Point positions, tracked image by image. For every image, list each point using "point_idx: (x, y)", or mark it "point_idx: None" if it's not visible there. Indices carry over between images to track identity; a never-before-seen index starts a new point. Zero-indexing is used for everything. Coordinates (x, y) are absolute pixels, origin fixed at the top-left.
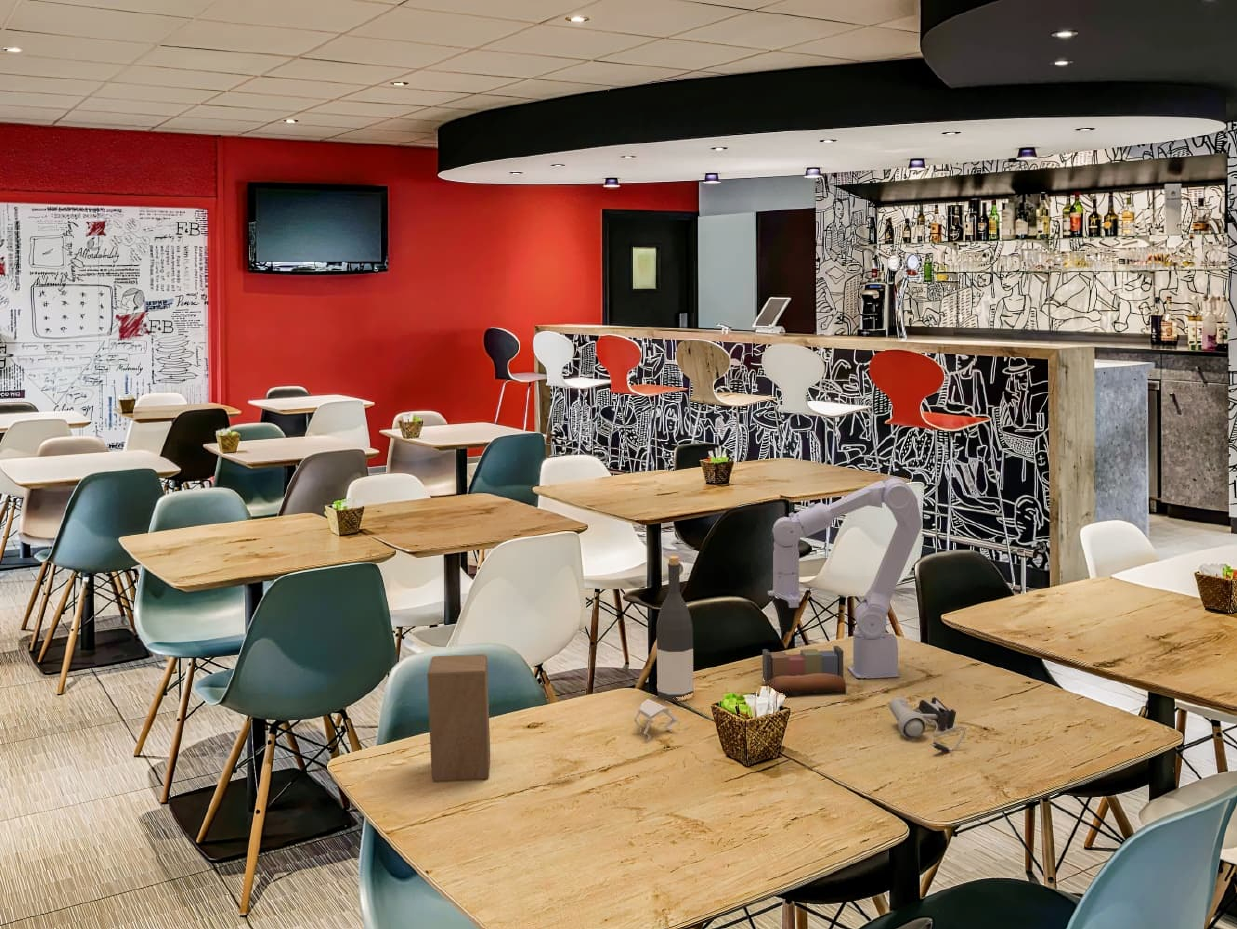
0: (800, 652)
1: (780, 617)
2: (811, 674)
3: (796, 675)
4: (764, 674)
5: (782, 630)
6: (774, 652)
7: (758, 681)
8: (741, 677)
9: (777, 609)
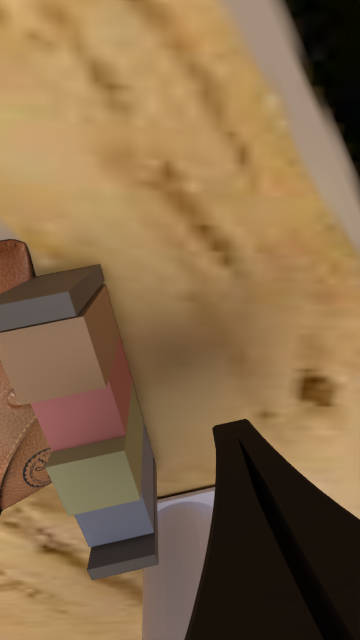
0: (125, 441)
1: (214, 515)
2: (1, 442)
3: (11, 392)
4: (61, 275)
5: (214, 434)
6: (91, 345)
7: (87, 248)
8: (128, 183)
9: (258, 585)
